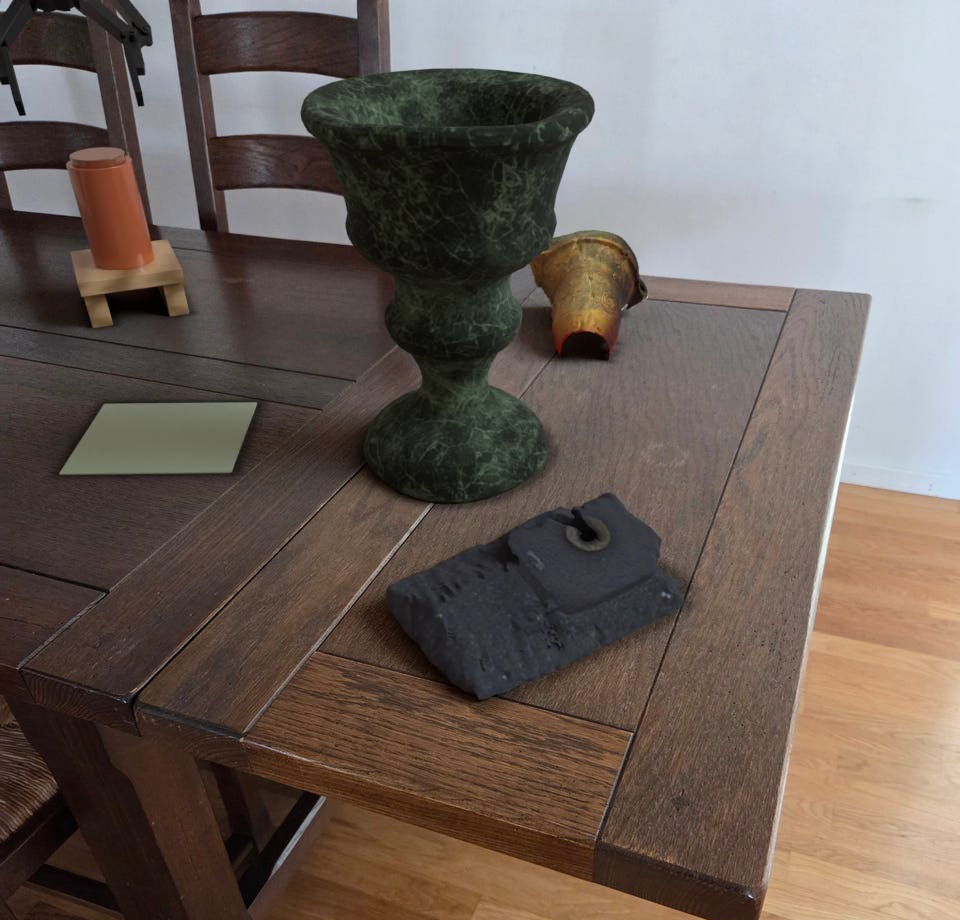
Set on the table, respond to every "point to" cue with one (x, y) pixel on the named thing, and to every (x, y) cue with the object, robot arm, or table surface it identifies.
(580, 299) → the pot
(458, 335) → the goblet
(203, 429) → the mat
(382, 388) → the table surface
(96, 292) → the stand
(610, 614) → the grey block with grommet
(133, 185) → the canister
